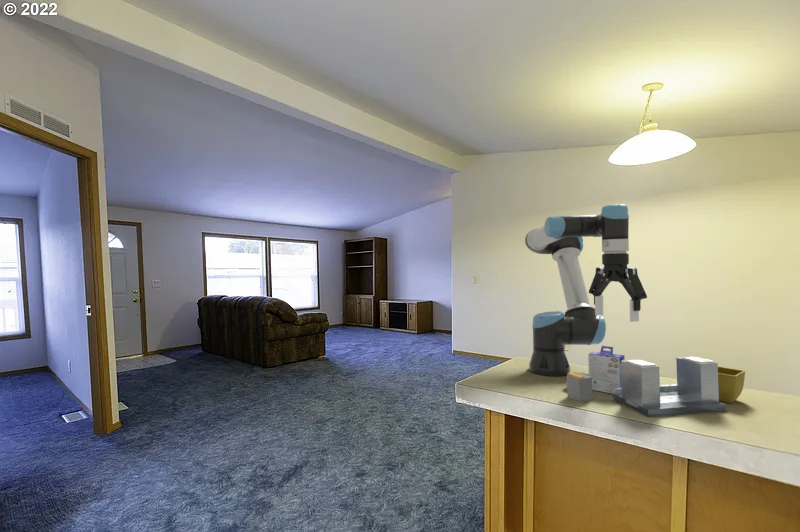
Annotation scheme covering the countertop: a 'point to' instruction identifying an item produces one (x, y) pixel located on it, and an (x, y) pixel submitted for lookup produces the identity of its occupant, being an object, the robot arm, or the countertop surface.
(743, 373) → the flower pot
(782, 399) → the countertop surface
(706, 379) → the rail board
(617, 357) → the ink cartridge box
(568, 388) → the block
